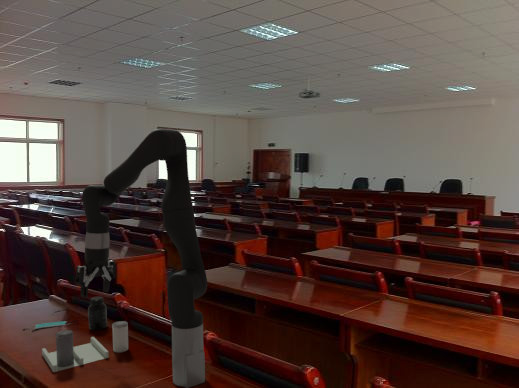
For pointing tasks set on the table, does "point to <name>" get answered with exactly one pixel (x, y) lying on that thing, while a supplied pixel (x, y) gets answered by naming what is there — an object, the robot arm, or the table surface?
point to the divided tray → (78, 355)
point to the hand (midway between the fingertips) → (95, 294)
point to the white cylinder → (120, 336)
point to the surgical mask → (51, 324)
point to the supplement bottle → (97, 314)
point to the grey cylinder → (64, 348)
